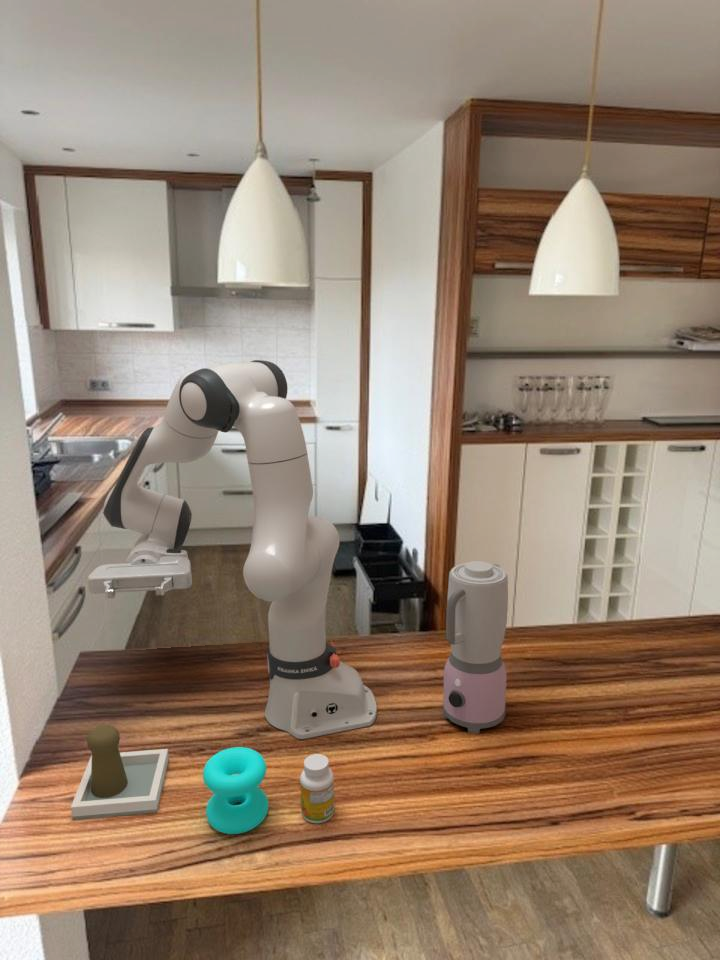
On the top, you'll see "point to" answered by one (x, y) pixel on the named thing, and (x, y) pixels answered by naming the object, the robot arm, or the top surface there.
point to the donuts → (235, 790)
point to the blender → (476, 645)
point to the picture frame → (138, 795)
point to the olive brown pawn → (106, 762)
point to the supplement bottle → (317, 789)
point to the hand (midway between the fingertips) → (134, 593)
